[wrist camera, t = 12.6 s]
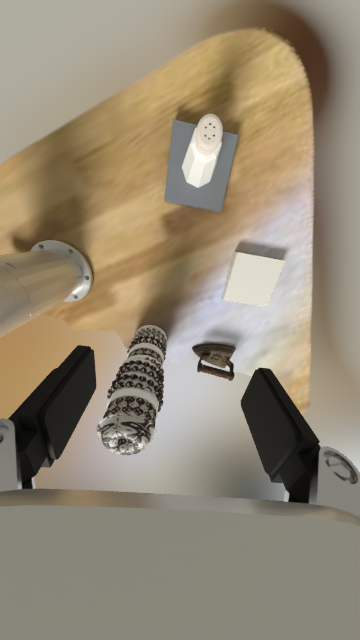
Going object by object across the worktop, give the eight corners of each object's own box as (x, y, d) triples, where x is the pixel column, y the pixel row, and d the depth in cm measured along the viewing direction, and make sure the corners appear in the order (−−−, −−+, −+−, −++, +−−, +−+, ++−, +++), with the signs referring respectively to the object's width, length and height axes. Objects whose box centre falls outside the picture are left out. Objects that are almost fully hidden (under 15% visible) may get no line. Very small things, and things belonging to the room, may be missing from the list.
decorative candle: (172, 328, 43) (167, 429, 21) (163, 356, 47) (150, 467, 25) (137, 319, 42) (90, 416, 20) (130, 348, 46) (85, 457, 24)
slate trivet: (165, 202, 32) (164, 200, 30) (173, 126, 27) (173, 119, 25) (218, 212, 32) (220, 211, 31) (234, 141, 28) (238, 134, 26)
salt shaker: (181, 144, 27) (183, 92, 17) (216, 144, 27) (239, 92, 17) (181, 188, 29) (183, 165, 19) (214, 188, 29) (232, 164, 19)
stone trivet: (221, 297, 40) (223, 300, 38) (234, 251, 35) (237, 252, 34) (262, 303, 41) (266, 306, 39) (280, 259, 36) (285, 260, 34)
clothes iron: (226, 365, 50) (226, 394, 41) (190, 350, 51) (182, 375, 42) (237, 348, 46) (239, 375, 38) (198, 332, 47) (191, 355, 38)
